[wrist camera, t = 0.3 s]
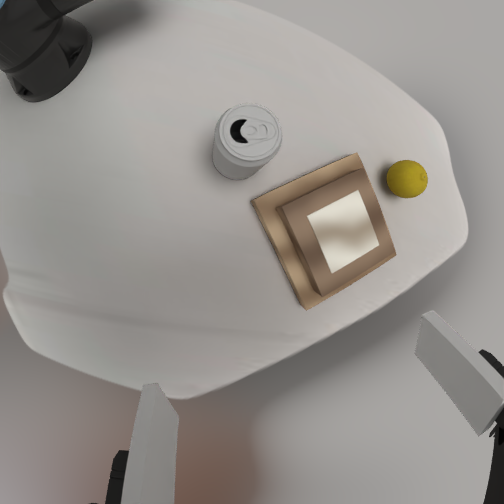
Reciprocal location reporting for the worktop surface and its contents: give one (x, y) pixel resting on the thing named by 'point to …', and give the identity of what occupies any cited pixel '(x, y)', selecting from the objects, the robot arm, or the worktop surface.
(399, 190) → the lemon
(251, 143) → the beverage can
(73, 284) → the worktop surface
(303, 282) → the pedestal
